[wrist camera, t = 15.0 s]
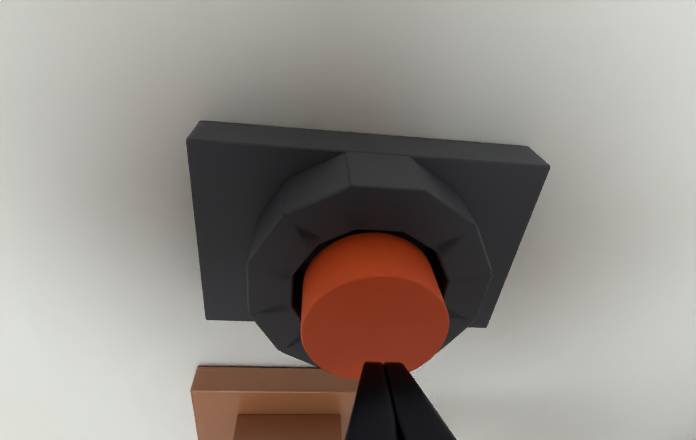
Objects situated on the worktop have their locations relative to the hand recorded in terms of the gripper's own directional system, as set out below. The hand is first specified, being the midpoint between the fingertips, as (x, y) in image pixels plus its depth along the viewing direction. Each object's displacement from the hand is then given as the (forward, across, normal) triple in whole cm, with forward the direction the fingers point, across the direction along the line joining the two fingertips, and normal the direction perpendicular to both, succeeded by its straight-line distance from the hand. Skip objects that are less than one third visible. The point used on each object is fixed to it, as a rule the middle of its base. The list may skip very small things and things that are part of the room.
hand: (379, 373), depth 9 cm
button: (+3, 0, 0) cm, 3 cm away
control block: (+6, 0, 0) cm, 6 cm away
